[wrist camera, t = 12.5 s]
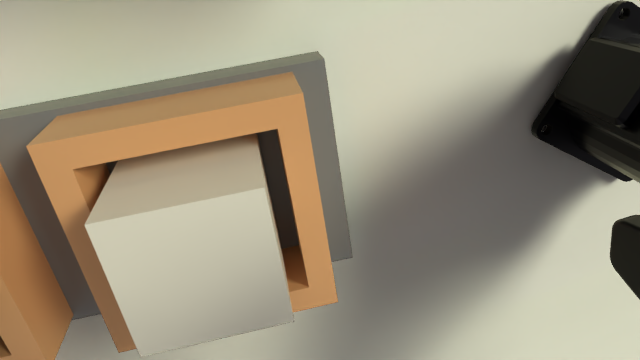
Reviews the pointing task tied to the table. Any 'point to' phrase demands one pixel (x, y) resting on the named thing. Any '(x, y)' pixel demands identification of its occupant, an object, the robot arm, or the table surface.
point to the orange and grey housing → (171, 209)
